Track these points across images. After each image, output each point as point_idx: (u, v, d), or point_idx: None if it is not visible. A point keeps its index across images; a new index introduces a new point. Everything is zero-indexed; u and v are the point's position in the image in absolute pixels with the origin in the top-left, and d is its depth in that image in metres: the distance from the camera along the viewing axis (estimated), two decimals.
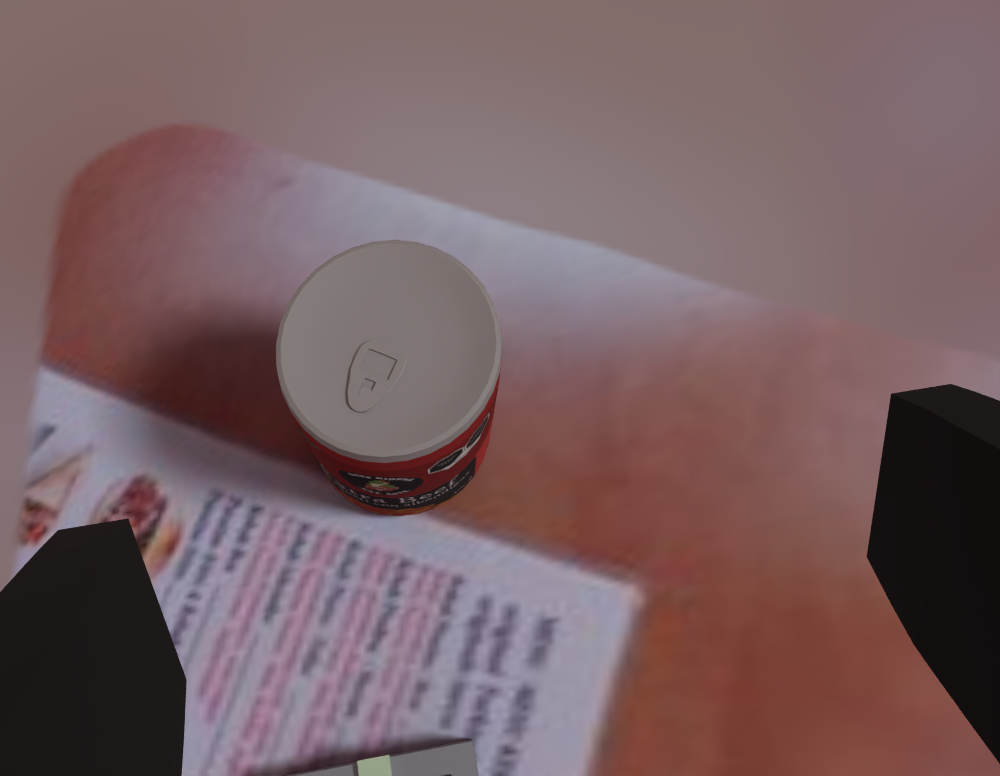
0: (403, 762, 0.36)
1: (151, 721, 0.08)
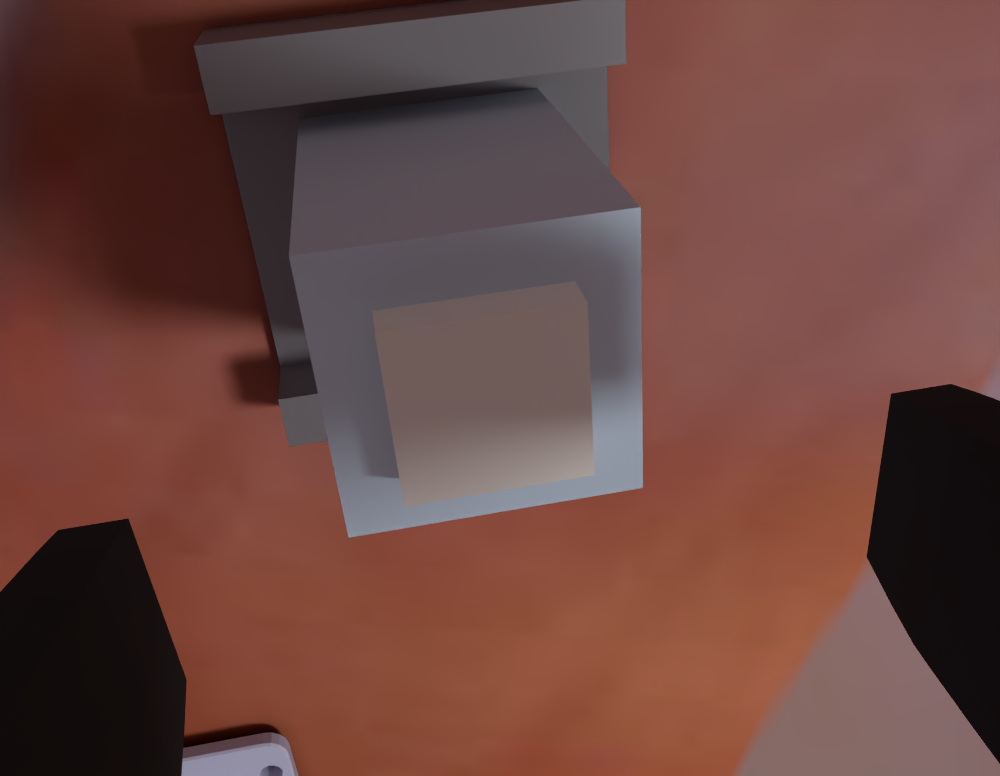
0: None
1: (151, 721, 0.08)
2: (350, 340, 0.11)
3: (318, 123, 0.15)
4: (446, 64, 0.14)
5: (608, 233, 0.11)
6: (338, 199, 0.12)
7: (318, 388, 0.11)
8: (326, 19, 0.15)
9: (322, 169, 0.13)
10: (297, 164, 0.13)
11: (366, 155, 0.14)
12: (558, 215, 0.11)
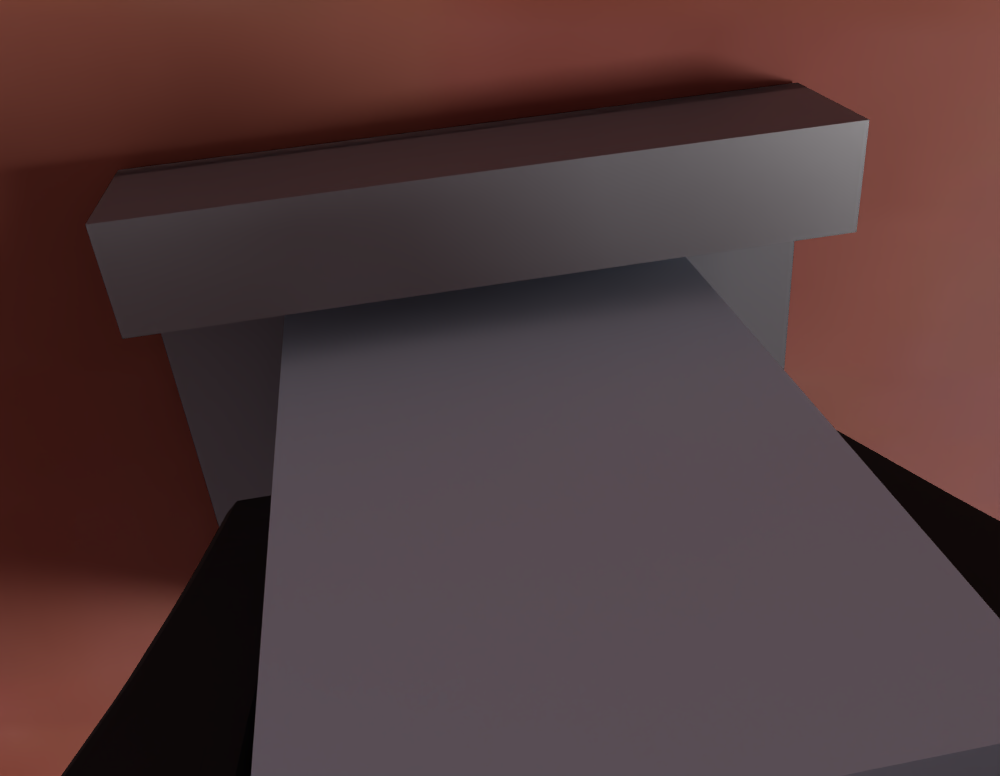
0: None
1: None
2: None
3: (318, 326, 0.09)
4: (546, 242, 0.08)
5: None
6: (358, 605, 0.06)
7: None
8: (331, 156, 0.08)
9: (326, 482, 0.07)
10: (277, 457, 0.07)
11: (409, 435, 0.07)
12: (897, 747, 0.04)
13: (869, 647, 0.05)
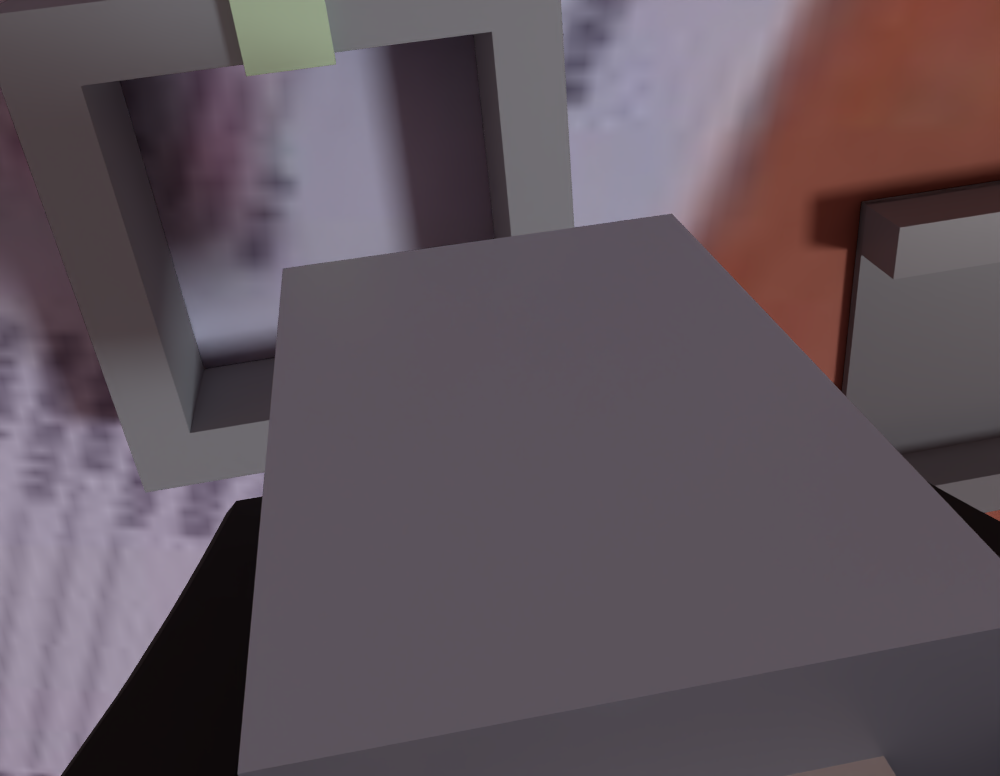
0: None
1: None
2: None
3: (315, 282, 0.09)
4: None
5: (973, 669, 0.05)
6: (352, 523, 0.06)
7: None
8: (970, 194, 0.18)
9: (322, 418, 0.07)
10: (275, 397, 0.07)
11: (404, 376, 0.07)
12: (868, 640, 0.05)
13: (844, 553, 0.05)
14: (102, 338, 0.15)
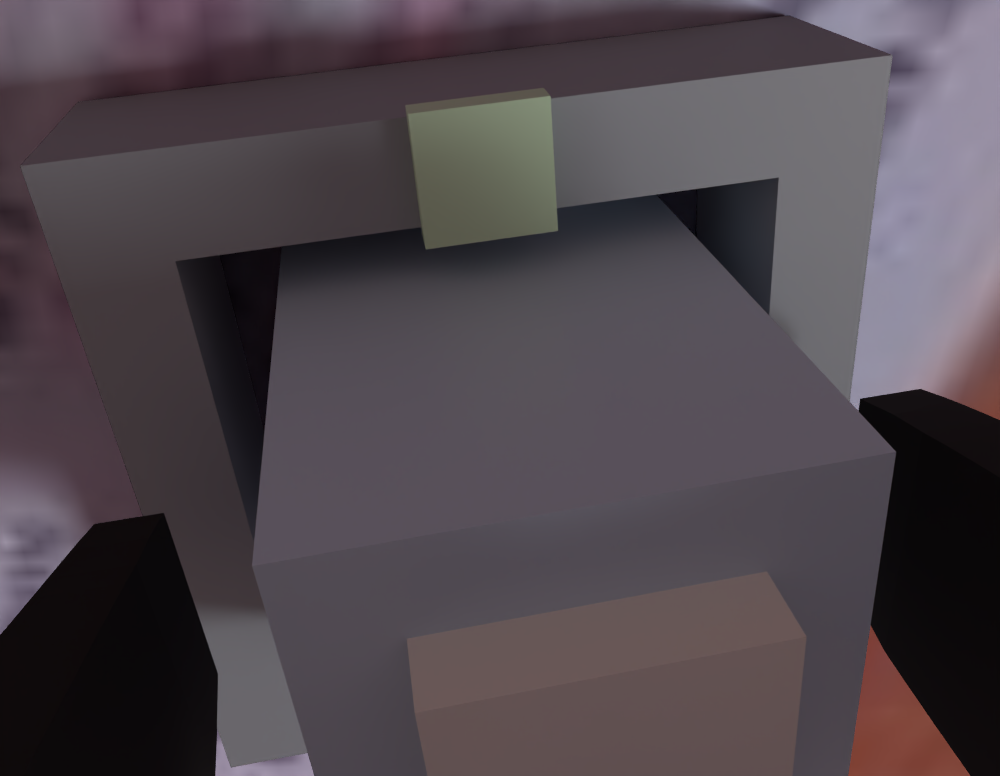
0: (600, 124, 0.08)
1: (187, 714, 0.08)
2: (368, 683, 0.06)
3: None
4: None
5: (833, 496, 0.06)
6: (344, 404, 0.07)
7: (311, 754, 0.06)
8: None
9: (318, 328, 0.08)
10: (278, 314, 0.09)
11: (388, 297, 0.09)
12: (747, 469, 0.06)
13: (738, 413, 0.06)
14: None
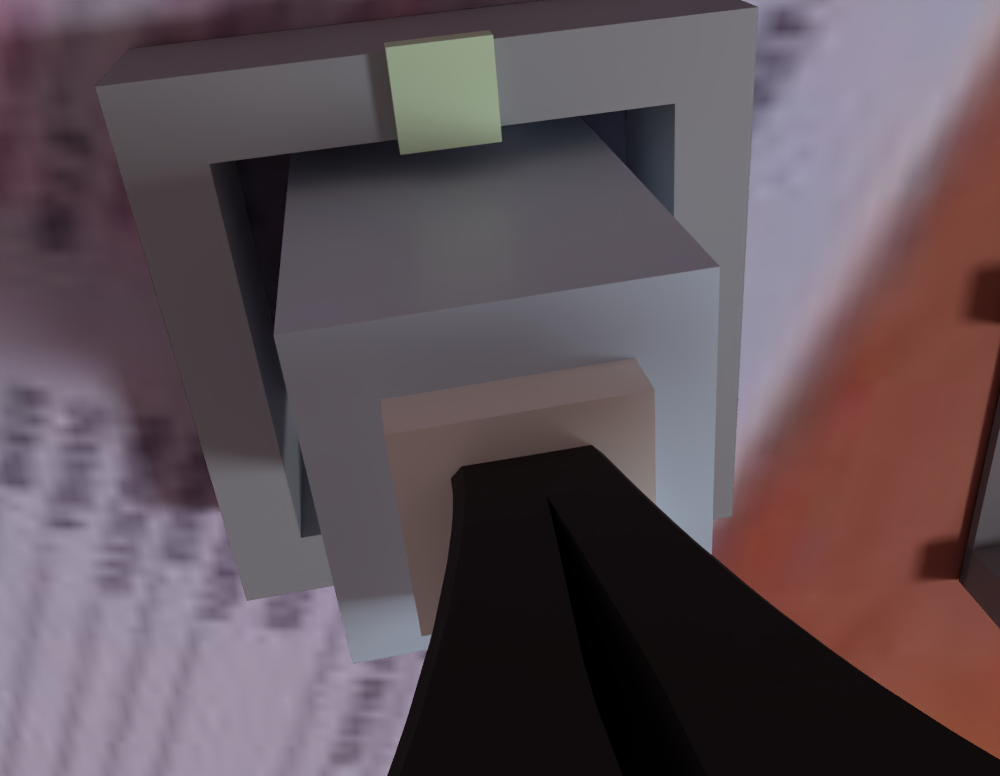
0: (533, 58, 0.11)
1: None
2: (353, 435, 0.09)
3: (314, 150, 0.13)
4: None
5: (678, 299, 0.09)
6: (336, 252, 0.10)
7: (313, 493, 0.09)
8: None
9: (318, 211, 0.11)
10: (288, 204, 0.11)
11: (372, 192, 0.11)
12: (616, 277, 0.09)
13: (617, 249, 0.09)
14: (212, 438, 0.13)
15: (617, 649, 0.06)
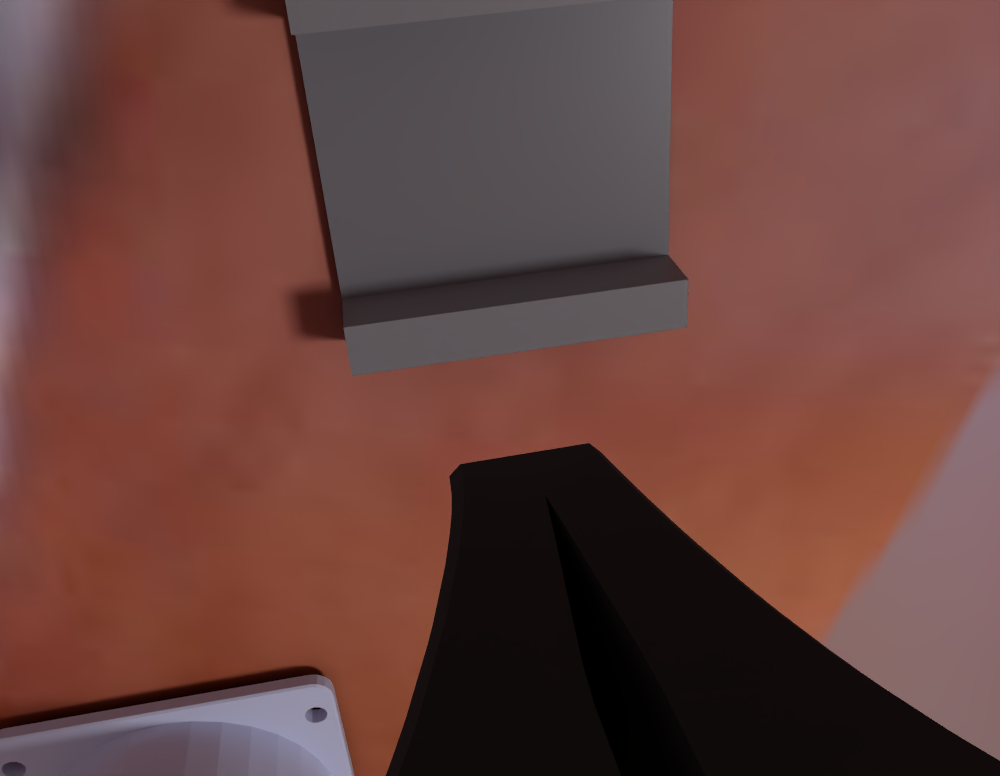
0: None
1: None
2: None
3: None
4: None
5: None
6: None
7: None
8: None
9: None
10: None
11: None
12: None
13: None
14: None
15: (616, 649, 0.06)
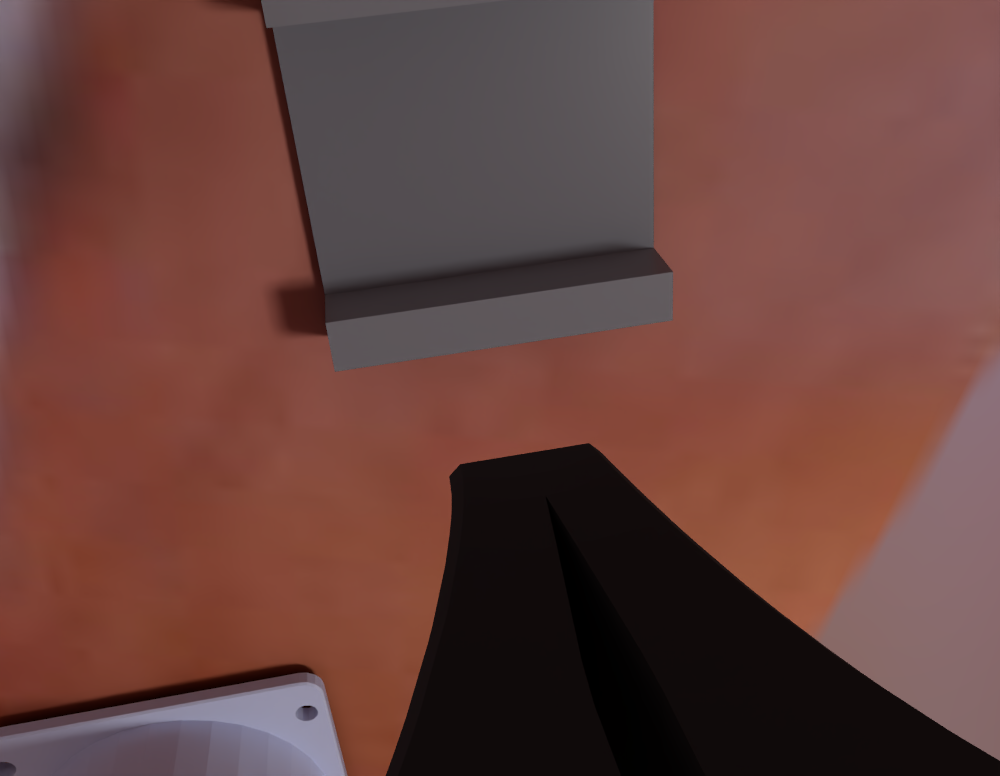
0: None
1: None
2: None
3: None
4: None
5: None
6: None
7: None
8: None
9: None
10: None
11: None
12: None
13: None
14: None
15: (616, 649, 0.06)
